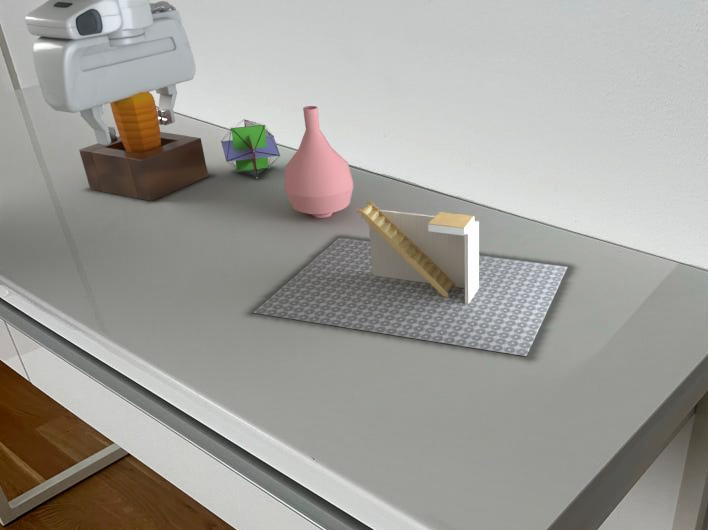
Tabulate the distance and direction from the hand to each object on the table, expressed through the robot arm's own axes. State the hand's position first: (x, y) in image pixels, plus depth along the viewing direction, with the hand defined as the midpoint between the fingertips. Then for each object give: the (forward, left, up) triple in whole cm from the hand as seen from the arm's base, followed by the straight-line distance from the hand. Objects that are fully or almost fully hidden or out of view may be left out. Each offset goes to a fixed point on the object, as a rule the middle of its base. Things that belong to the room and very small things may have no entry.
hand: (138, 133), depth 92 cm
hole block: (0, 0, -6) cm, 6 cm away
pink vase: (+26, 0, -6) cm, 27 cm away
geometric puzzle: (+10, +9, -6) cm, 14 cm away
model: (+45, -12, -6) cm, 47 cm away
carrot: (0, 0, -6) cm, 7 cm away
